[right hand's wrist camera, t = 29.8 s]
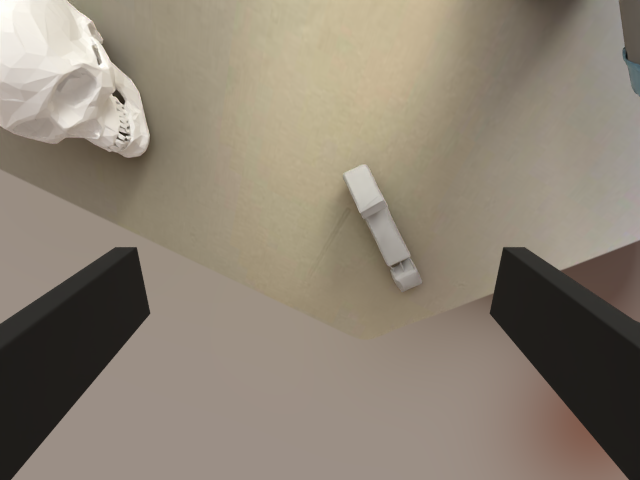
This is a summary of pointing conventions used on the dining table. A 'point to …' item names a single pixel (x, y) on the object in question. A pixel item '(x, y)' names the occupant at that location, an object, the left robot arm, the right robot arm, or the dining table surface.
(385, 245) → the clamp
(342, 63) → the dining table surface
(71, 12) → the skull
